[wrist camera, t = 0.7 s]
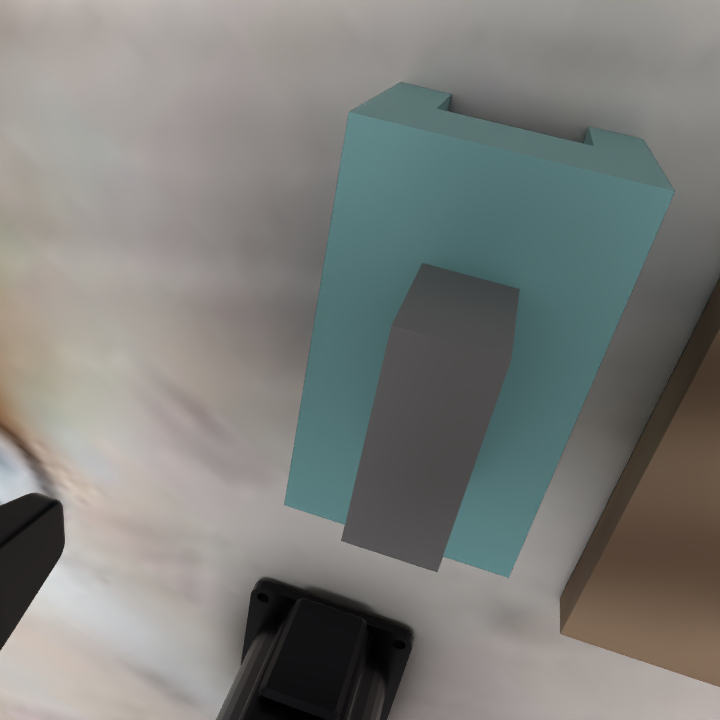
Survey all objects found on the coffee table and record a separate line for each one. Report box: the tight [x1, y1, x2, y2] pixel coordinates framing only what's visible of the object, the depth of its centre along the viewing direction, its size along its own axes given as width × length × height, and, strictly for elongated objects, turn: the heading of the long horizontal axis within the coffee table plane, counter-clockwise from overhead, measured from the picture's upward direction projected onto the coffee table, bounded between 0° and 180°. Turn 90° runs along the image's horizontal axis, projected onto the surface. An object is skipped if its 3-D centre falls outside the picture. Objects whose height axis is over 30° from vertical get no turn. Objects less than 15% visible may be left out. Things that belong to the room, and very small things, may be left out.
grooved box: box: [284, 82, 675, 578], centre depth 16 cm, size 10×6×8 cm, turn 169°
